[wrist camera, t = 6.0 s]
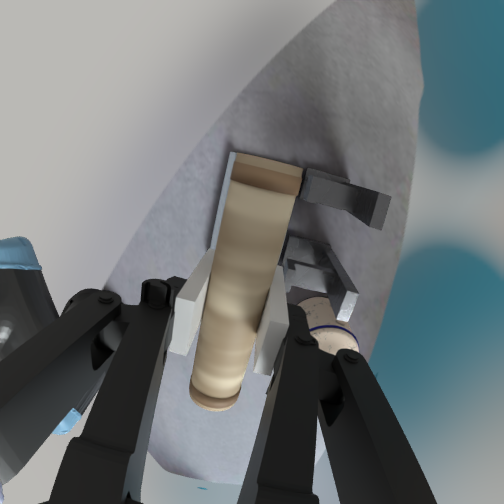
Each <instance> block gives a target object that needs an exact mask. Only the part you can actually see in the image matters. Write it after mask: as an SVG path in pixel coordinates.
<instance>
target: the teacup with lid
mask: <svg viewBox="0 0 504 504" xmlns="http://www.w3.org/2000/svg"><path fill="white" fill-rule="evenodd" d="M297 306H301V307H302V308H303V310H304V311H305V312H306V316H307V321H308V325H309V330H310V334H311V335H312V336H313V337H315V338H316V339H317V341H318V343H319V348H320V349H321V350H323V351H325V352H328V353H330V354H333V355H336V353H337V351H338V350H340V349H342V348H347V349H352V350H354V351H357V352H358V353H359V344H358V341H357V339H356V337H355V336H354V335H353V334H352V331H351V329H350V326H349V324H348V322H346V321H340V320H336V318H335V315H334V312H333V309H332V307H331V304H330V301H329V299H328V298H324V297H313V298H309V299H306V300H304V301H302V302H300V303H299V304H298V305H297ZM352 312H353V311H352ZM351 314H352V313H351ZM350 316H351V315H350Z"/></svg>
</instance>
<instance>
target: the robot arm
mask: <svg viewBox="0 0 504 504" xmlns="http://www.w3.org/2000/svg"><path fill="white" fill-rule="evenodd" d="M214 253H215V250H213V249H208V251H207V252H206V253H205V255H204V256H203V258H202V259H201V261H200V262H199V264H198V265H197V267H196V268H195V270H194V271H193V273H192V274H191V276H190V277H189V278H188V280H187V279H183V278H180V277H176V276H174V277H171V278H169V279H167V280H166V281H165V280H161V279H148V280H145V281H144V282H143V283H142V289H141V301H140V303H139V305H126V304H122V303H121V297H120V296H119V295H118V294H116V293H114V292H111V291H101V290H98V289H84V290H81V291H79V292H78V293H77V294H75V295H74V296H73V297H72V298H71V299H70V300H69V301H68V302H67V304H66V306H65V308H64V310H63V312H62V314H61V316H60V317H59V315H58V312H57V310H56V308H55V305H54V303H53V301H52V298H51V296H50V293H49V291H48V288H47V285H46V283H45V280H44V277H43V274H42V271H41V270H42V267H41V266H40V265H39V263H38V260H37V258H36V255H35V252H34V250H33V247H32V244H31V243H30V241H29V240H28V239H27V238H25V237H20V236H19V237H13V238H7V239H3V240H0V504H2V503H3V500H4V495H3V493H2V491H3V489H2V485H3V484H5V483H7V482H8V481H9V480H11V479H12V478H13V477H14V476H15V475H17V474H18V472H19V471H20V470H21V469H22V468H23V467H24V466H25V465H26V464H27V462H28V461H29V460H30V459H31V457H32V456H33V455H34V454H35V452H36V451H37V450H38V449H39V447H40V446H41V445H42V444H43V443H44V441H45V440H46V439H47V438H48V437H49V436H50V434H51V433H53V434H59V435H62V434H66V433H68V432H69V431H70V430H71V429H72V427H73V426H74V425H75V424H76V422H77V421H79V420H80V419H81V416H82V415H83V413H84V412H85V410H86V409H87V407H88V405H89V404H90V402H91V401H92V399H93V397H94V396H95V395H96V393H97V392H98V394H97V396H96V399H95V401H94V404H93V406H92V409H91V411H90V413H89V416H88V419H87V421H86V424H85V426H84V429H83V432H82V434H81V435H80V437H74V438H72V439H71V440H70V442H69V444H68V446H67V449H66V452H65V454H64V457H63V460H62V462H61V465H60V468H59V471H58V474H57V477H56V480H55V483H54V486H53V489H52V492H51V495H50V499H49V501H46V502H43V503H39V504H143V503H141V502H140V500H141V499H140V498H141V497H140V496H141V485H142V479H143V472H144V466H145V460H146V454H147V449H148V443H149V438H150V432H151V427H152V422H153V417H154V412H155V407H156V402H157V398H158V393H159V388H160V384H161V379H162V375H163V370H164V366H165V362H166V358H167V348H168V346H169V345H170V351H171V352H174V353H177V354H181V355H184V356H187V353H188V351H189V348H190V346H191V344H192V341H193V339H194V336H195V334H196V331H197V329H198V327H199V324H200V322H201V319H202V315H203V310H204V305H205V299H206V294H207V289H208V284H209V279H210V274H211V268H212V263H213V258H214ZM273 368H274V374H273V377H272V379H271V382H270V384H269V387H268V389H267V392H266V394H267V398H266V402H265V406H264V410H263V413H262V417H261V421H260V425H259V429H258V432H257V436H256V440H255V444H254V447H253V451H252V454H251V458H250V461H249V465H248V468H247V472H246V475H245V479H244V482H243V485H242V489H241V492H240V495H239V499H238V502H237V504H319V498H318V496H317V495H315V494H313V492H312V485H313V473H314V462H315V449H316V433H317V415H318V419H319V423H320V427H321V430H322V434H323V438H324V442H325V445H326V449H327V453H328V457H329V461H330V465H331V469H332V473H333V477H334V480H335V484H336V488H337V492H338V496H339V501H340V504H437V502H436V500H435V498H434V495H433V493H432V491H431V489H430V486H429V484H428V482H427V480H426V478H425V476H424V473H423V471H422V469H421V467H420V465H419V463H418V461H417V459H416V456H415V454H414V452H413V450H412V448H411V446H410V444H409V442H408V440H407V438H406V436H405V434H404V432H403V430H402V428H401V426H400V424H399V422H398V420H397V418H396V416H395V414H394V412H393V410H392V408H391V406H390V404H389V403H388V401H387V399H386V397H385V395H384V393H383V391H382V389H381V387H380V386H379V384H378V382H377V380H376V378H375V376H374V375H373V373H372V371H371V369H370V367H369V365H368V363H367V362H366V360H365V358H364V357H363V356H362V355H361V354H360V353H358V352H357V351H354V350H352V349H347V348H342V349H340V350H338V351H337V353H336V355H333V354H330V353H328V352H325V351H323V350H321V349H320V348H319V343H318V341H317V339H316V338H315V337H313V336H312V335H311V334H310V330H309V325H308V321H307V316H306V312H305V311H304V310H303V308H302V307H301V306H297V305H293V304H288V303H287V300H286V291H285V283H284V275H283V267H282V266H279V265H277V267H276V270H275V274H274V277H273V281H272V284H271V287H270V289H269V293H268V296H267V299H266V303H265V306H264V310H263V313H262V316H261V320H260V323H259V326H258V330H257V333H256V345H255V357H254V369H253V372H254V373H259V374H264V375H269V376H271V373H272V370H273ZM98 390H99V391H98Z"/></svg>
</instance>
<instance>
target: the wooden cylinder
mask: <svg viewBox="0 0 504 504" xmlns="http://www.w3.org/2000/svg"><path fill="white" fill-rule="evenodd" d="M302 171H303V169H302V168H299V167H296V166H292V165H289V164H285V163H281V162H278V161H274V160H270V159H266V158H261V157H257V156H253V155H248V154H243V153H237V155H236V159H235V161H234V163H233V168H232V172H231V176H230V179H231V180H230V185H229V189H228V193H227V198H226V202H225V207H224V211H223V216H222V220H221V225H220V230H219V234H218V239H217V244H216V249H215V253H214V258H213V263H212V268H211V274H210V279H209V284H208V289H207V294H206V299H205V305H204V310H203V315H202V320H201V325H200V331H199V336H198V342H197V348H196V354H195V359H194V365H193V371H192V375H191V379H190V386H189V393H190V397H191V399H192V400H193V401H194V402H195V403H196V404H197V405H198V406H200V407H201V408H204V409H206V410H210V411H224V410H227V409H229V408H231V407H232V406H233V405H234V404H235V402H236V401H237V399H238V396H239V393H240V390H241V383H242V380H243V377H244V374H245V371H246V367H247V364H248V361H249V358H250V355H251V351H252V348H253V345H254V342H255V338H256V333H257V330H258V326H259V323H260V320H261V316H262V313H263V310H264V306H265V303H266V299H267V296H268V293H269V289H270V287H271V284H272V281H273V277H274V274H275V270H276V267H277V263H278V260H279V256H280V253H281V249H282V246H283V242H284V239H285V235H286V231H287V228H288V224H289V220H290V217H291V213H292V209H293V206H294V202H295V198H296V196H297V195H298V193H299V189H300V185H301V181H302V178H301V175H302Z"/></svg>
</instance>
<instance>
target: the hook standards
mask: <svg viewBox="0 0 504 504" xmlns="http://www.w3.org/2000/svg"><path fill="white" fill-rule="evenodd" d="M349 182H350V180H349V179H346V178H342V177H339V176H336V175H332V174H329V173H326V172H322V171H319V170H315V169H311V168H308V167H307V169H306V173H305V177H304V181H303V185H302V189H301V193H300V196H299V198H300V199H304V200H306V201H307V202H310V203H314V204H315V203H319V204H322V205H326V206H330V207H333V208H337V209H340V210H342V209H343V210H346V211H348V212H349V213H350V214H352V215H353V216H355V217H356V218H358V219H359V220H361V221H362V222H363V223H365V224H366V225H368V226H369V227H372V228H375V229H379V230H382V227H383V224H384V221H385V217H386V214H387V210H388V207H389V204H390V200H391V196H388V195H385V194H382V193H379V192H376V191H373V190H370V189H366V188H363V187H360V186H356V185H353V184H349ZM282 265H284V269H283V275H284V283H285V291H286V292H288V293H289V292H290V289H291V286H296V287H301V288H305V289H309V290H314V291H318V292H323V293H327V296H328V299H329V301H330V304H331V307H332V309H333V312H334V315H335V318H336V320H340V321H346V322H348V320H349V318H350V315H351V313H352V311H353V308H354V306H355V303H356V301H357V298H358V296H359V293H358V291H357V289H356V288H355V286H354V284H353V283H352V281H351V279H350V278H349V276H348V274H347V273H346V271H345V270H344V268H343V266H342V265H341V263H340V262H339V260H338V258H337V257H336V255H335V254H334V252H333V251H332V249H331V246H330V245H329V244H325V243H321V242H317V241H313V240H310V239H306V238H302V237H298V236H294V235H290V234H289V238H288V242H287V245H286V249H285V253H284V256H283V260H282Z"/></svg>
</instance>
